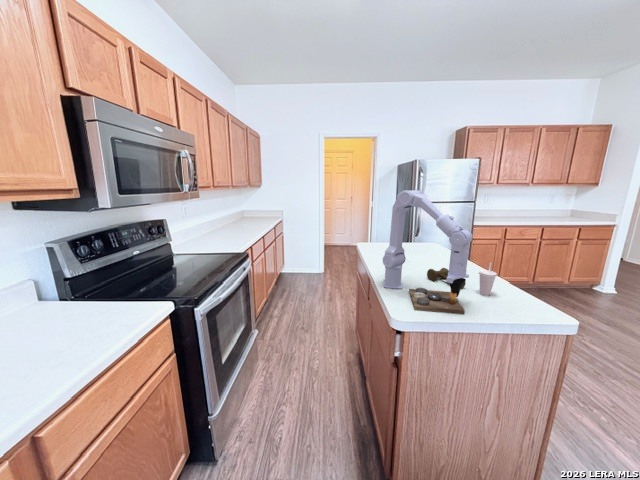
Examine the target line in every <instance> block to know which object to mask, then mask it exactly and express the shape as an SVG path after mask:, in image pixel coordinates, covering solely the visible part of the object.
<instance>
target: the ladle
mask: <svg viewBox="0 0 640 480" xmlns="http://www.w3.org/2000/svg"><path fill="white" fill-rule="evenodd" d="M449 292H450V295H449V298H446V297H442V296H441V295H440V294H438V293H428V298H429V299H431V300H435V301H439V300H441V299H442V300H445V301H449V303H451V304H456V299H457V298H458V297H457V293H456V292H452V291H451V290H450V291H449Z"/></svg>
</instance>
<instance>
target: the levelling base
mask: <svg viewBox="0 0 640 480" xmlns="http://www.w3.org/2000/svg"><path fill="white" fill-rule="evenodd" d="M450 292H451V291H443V290H432V289H431V290H429V289H426V288H424V287H417V288H416V287H415V288H409V289H408V293H409V294H408V295H409V297H410V299H411V300H410V301H411V303H412V305H413V309H414V311H422V312H431V313H432V312H433V313H445V314H455V315H465V312H466V311H465V309H464V308H463V306H462V305H461V303H460V302H459V300H458V299H457V298H456V304H451V303H449V301H445V300H442V299H441V300H439V301H435V300H431V299H429V298H428V293H438V294H440V295H441V296H442V297H446V298H449V295H450Z"/></svg>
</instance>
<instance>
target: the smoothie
mask: <svg viewBox="0 0 640 480" xmlns="http://www.w3.org/2000/svg"><path fill="white" fill-rule="evenodd" d="M488 265H489V266H488V270H487V269H480V270H479V271H478V274H479V294H480V295H482V296H485V297H486V296H490V295H491V293H492V289H493V286H494V283H495V279H496V277H497V276H498V274H497V272H496V271H493V270H491V267H492V262H489V264H488Z"/></svg>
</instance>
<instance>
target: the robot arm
mask: <svg viewBox="0 0 640 480" xmlns="http://www.w3.org/2000/svg"><path fill="white" fill-rule="evenodd" d="M413 207H414V208H419V209H422V210H423V211H424V212H425V213H426V214H428V215H429V216H430V217H431V218H433V220H435V223H436V224H435V226H436V227H437V228H439V230H440V231H442V232H443V233H444V234H445V235H446V237H447V238H448V239H449V240H448V241H449V243H450V244H451V247H450V255H449V256H450V257H449V266H448V270H449V272H448V277H447V280H446V279H445V280H446V282H445V283H448V284H449V286H450V292H451V291H452V292H456V293H457V297H456V298H458V297H459V296H460V292H461V290H462V289H461V287H462V285H463V283H464V282H466V278H470V275H469V274H467V270H468V269H467V267H468V258H469V253H470V251H469V249H470V243H471V242H472V241H473V233H472V232H471V231H470V230H469V229H468V228H464V226H463V225H460V224H459V223H458V222H457V221H456V220H454V219H455V217H454V216H453V215H449V214H443V213H442V212H441V210H440V209H438V207H437V206H436V205H434V203H433V202H432V201H431V199H429V198H428V197H427V195H426V194H425V193H423V192H422V191H421V190H419V189H415V190H407V189H405V190H402V191H401V192H399V193H398V194H397V195H396V200H395V201H394V204H393V205H392V210H391V211H392V213H391V223H390V231H389V232H390V233H389V234H390V235H389V245H388V246H387V248H386V249H385V251H384V255H383V257H382V264H383V266H384V269H385V270H384V279H383V288H387V289H397V290H398V289H400V290H402V289H403V285H402V270H403V264H405V262H406V259H407V258H406V255H405V248H403V240H404V239H403V238H404V230H405V229H404V228H405V220H406V212H407V211H409V210H410V209H411V208H413Z"/></svg>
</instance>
